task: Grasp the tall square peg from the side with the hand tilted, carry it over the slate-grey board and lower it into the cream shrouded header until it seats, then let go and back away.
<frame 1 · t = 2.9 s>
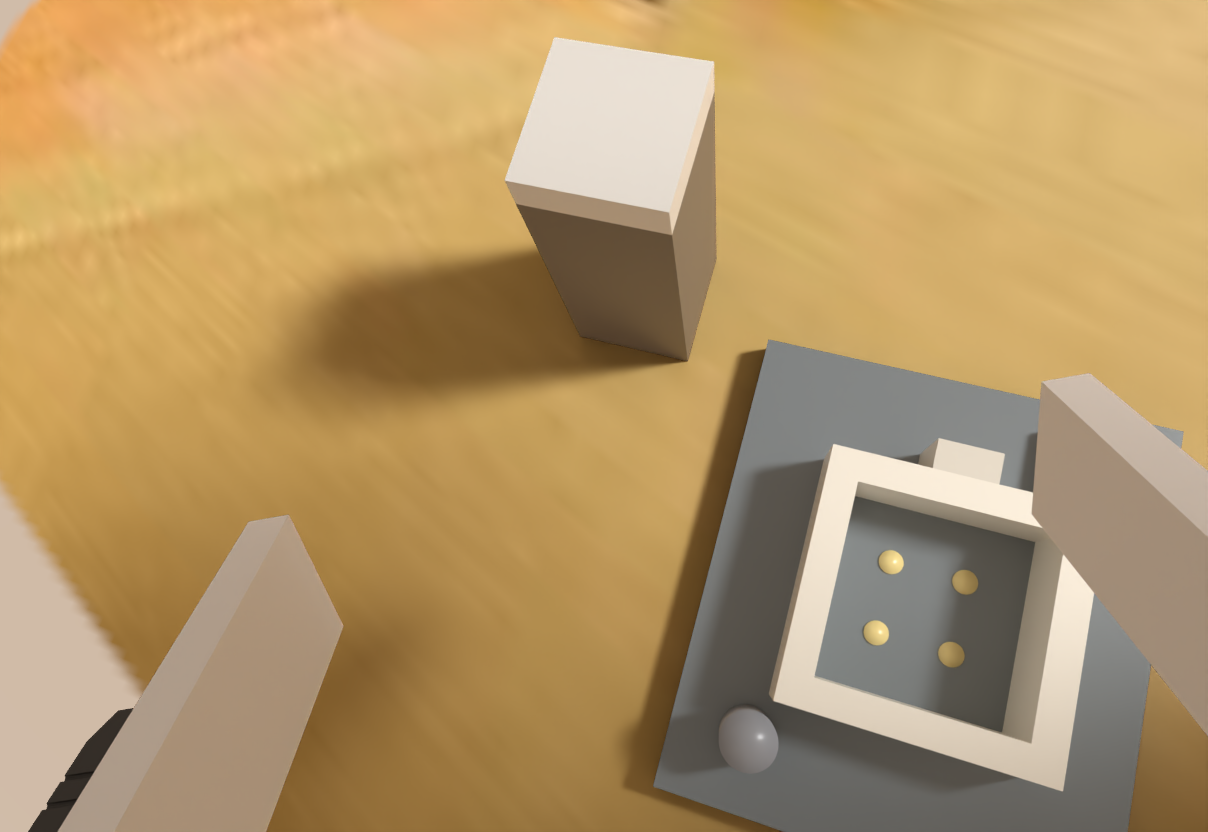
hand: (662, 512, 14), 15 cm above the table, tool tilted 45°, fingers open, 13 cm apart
tall square peg: (648, 297, 32), on the table
board: (913, 608, 28), on the table
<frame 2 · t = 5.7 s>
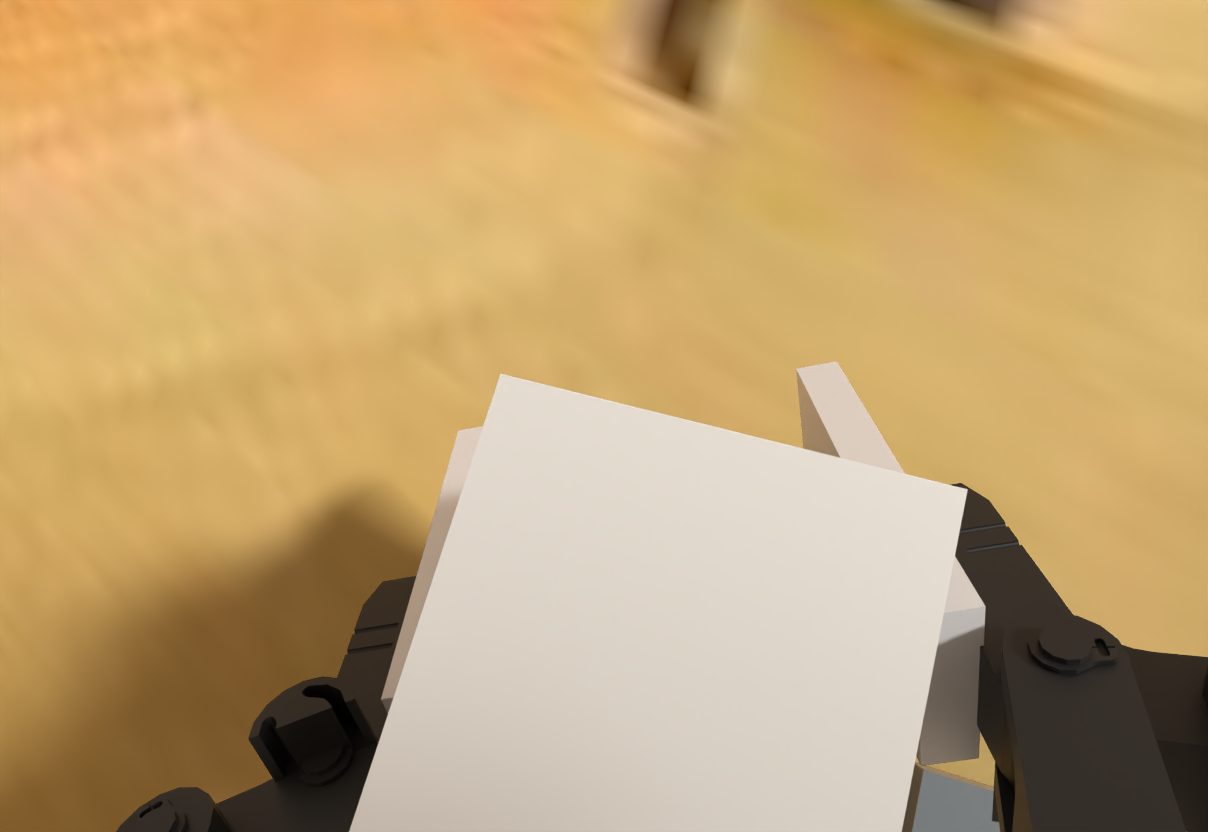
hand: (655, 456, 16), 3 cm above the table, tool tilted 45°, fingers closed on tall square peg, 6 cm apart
tall square peg: (693, 643, 18), on the table, touching gripper
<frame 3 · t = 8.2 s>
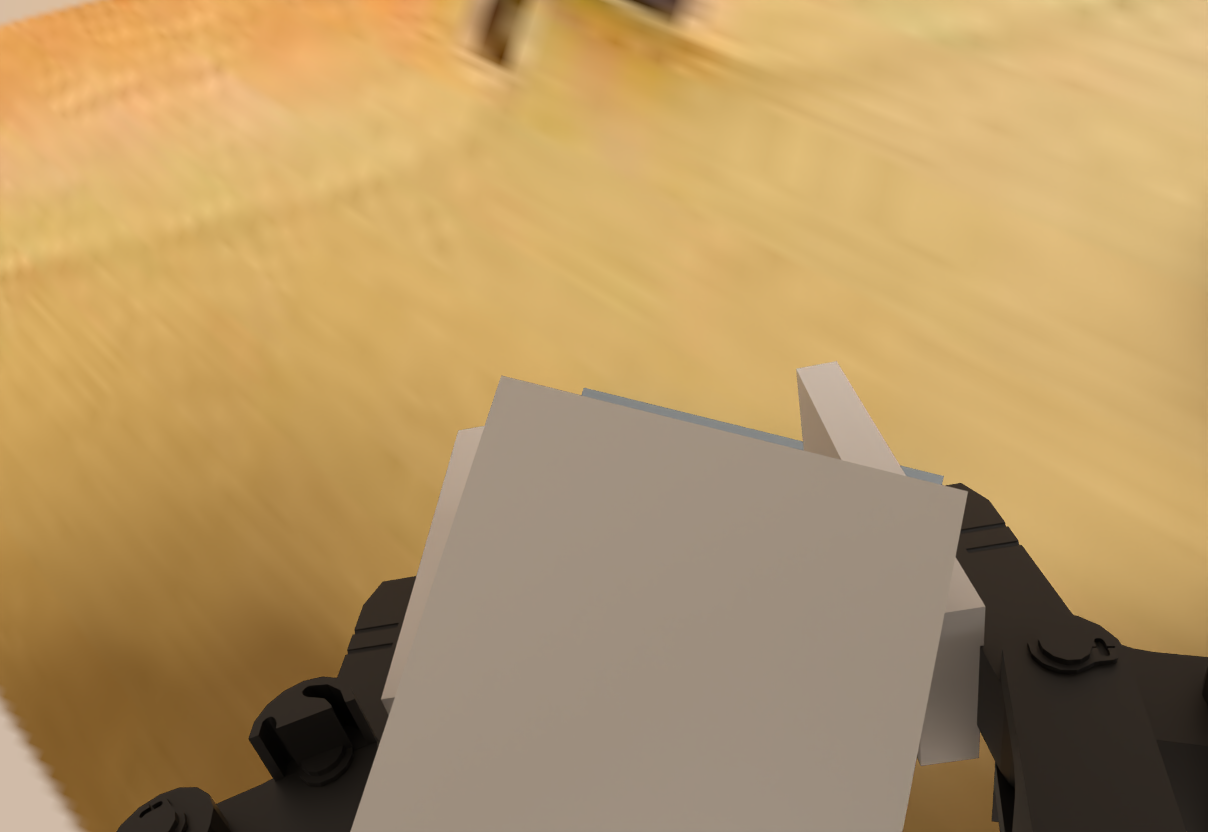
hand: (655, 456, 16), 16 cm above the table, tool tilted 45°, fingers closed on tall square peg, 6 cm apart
tall square peg: (693, 644, 18), point 13 cm above the table, touching gripper
board: (703, 636, 30), on the table
when the fingers open (5 cm above the table, at t = 11.0 s): tall square peg stays where it is, resting on board.
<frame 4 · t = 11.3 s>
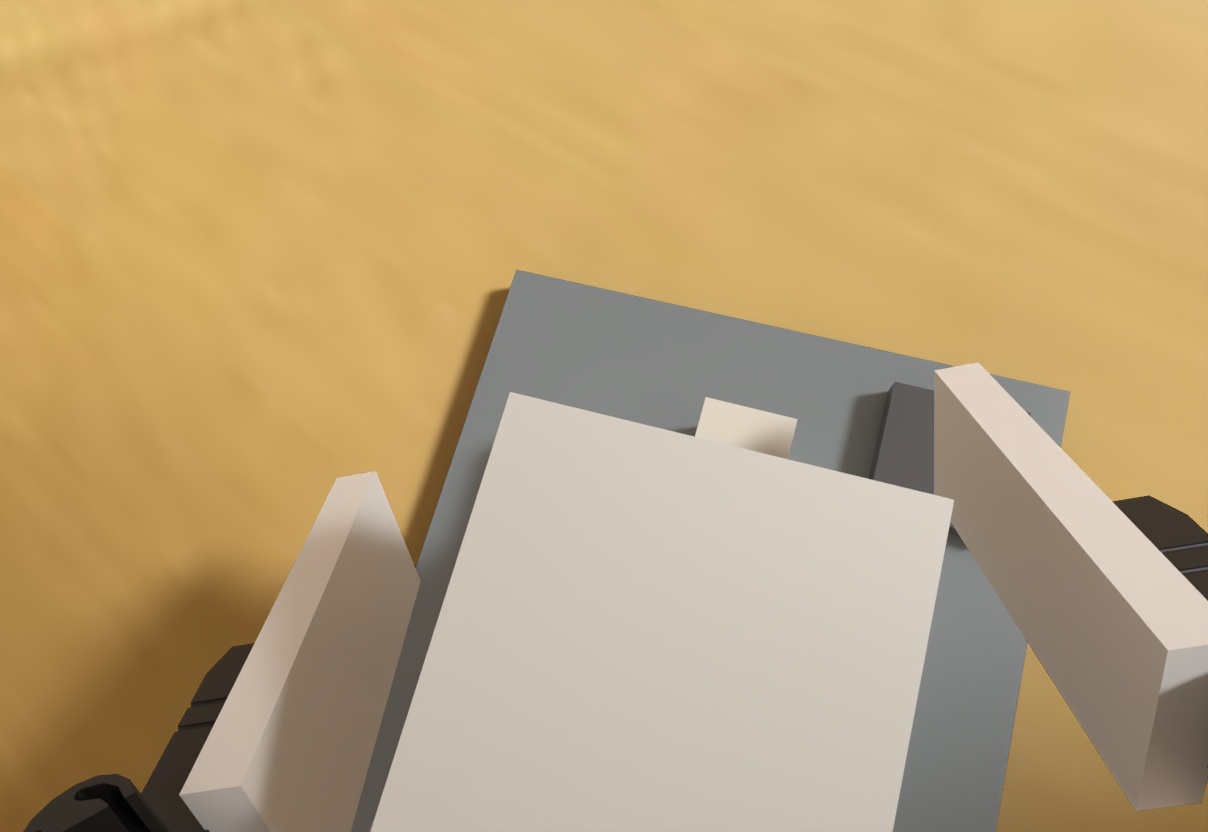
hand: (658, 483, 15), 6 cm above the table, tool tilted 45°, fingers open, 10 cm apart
tall square peg: (693, 645, 18), point 1 cm above the table, touching board
board: (694, 642, 19), on the table
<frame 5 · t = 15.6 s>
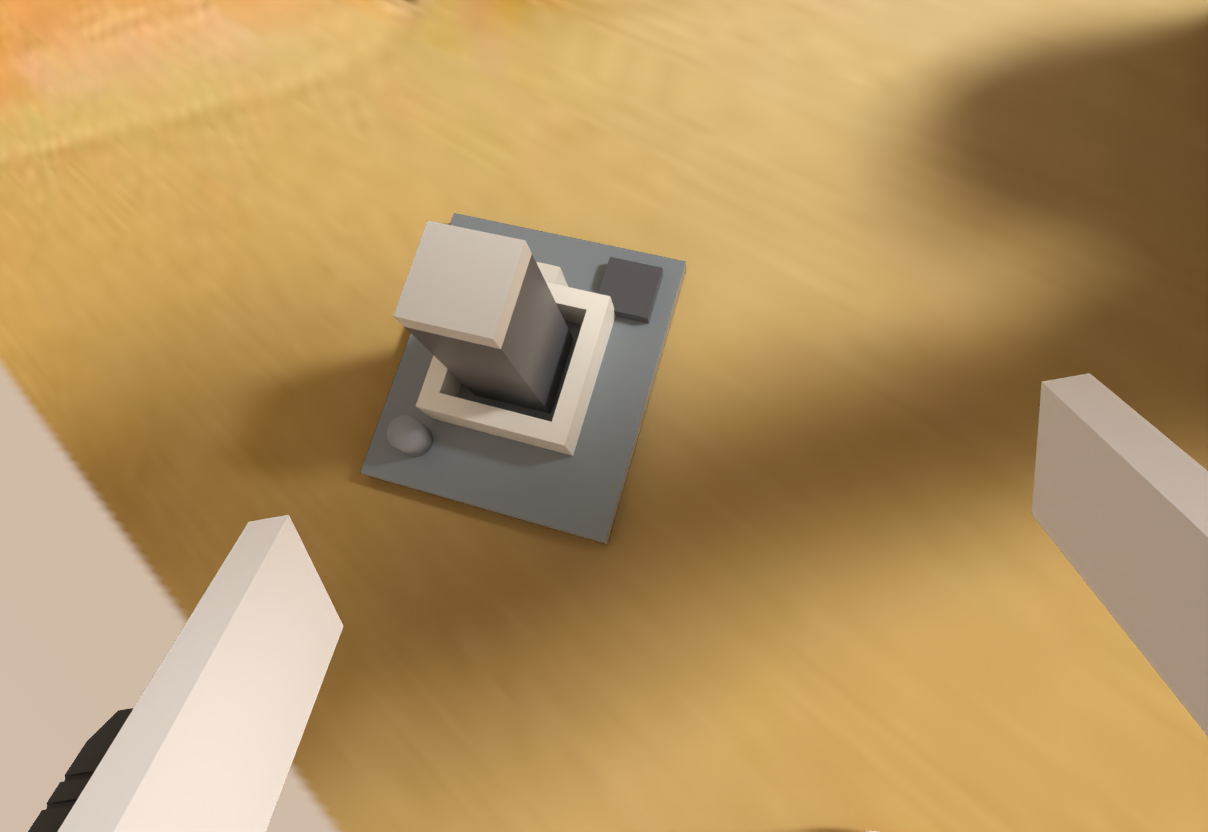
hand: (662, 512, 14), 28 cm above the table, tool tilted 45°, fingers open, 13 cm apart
tall square peg: (524, 366, 44), point 1 cm above the table, touching board
board: (528, 371, 45), on the table
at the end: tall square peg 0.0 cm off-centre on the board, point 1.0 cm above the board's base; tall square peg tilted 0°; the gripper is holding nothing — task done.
